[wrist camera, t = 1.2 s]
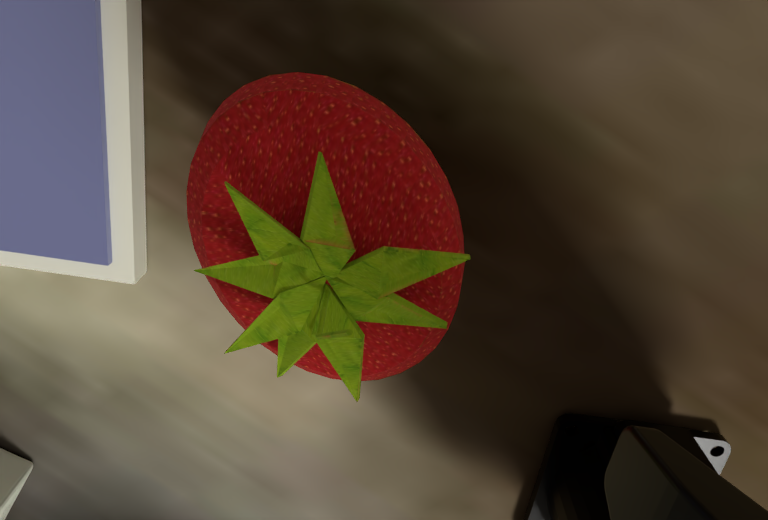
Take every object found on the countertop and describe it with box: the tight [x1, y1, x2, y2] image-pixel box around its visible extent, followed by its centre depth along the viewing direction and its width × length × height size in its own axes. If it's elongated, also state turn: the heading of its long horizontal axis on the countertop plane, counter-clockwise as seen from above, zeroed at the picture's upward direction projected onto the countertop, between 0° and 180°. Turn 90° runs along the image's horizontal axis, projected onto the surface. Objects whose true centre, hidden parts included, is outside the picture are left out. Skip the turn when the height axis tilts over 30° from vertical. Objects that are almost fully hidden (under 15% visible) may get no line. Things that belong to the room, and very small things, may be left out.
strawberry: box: [187, 72, 470, 402], centre depth 14 cm, size 6×8×10 cm
